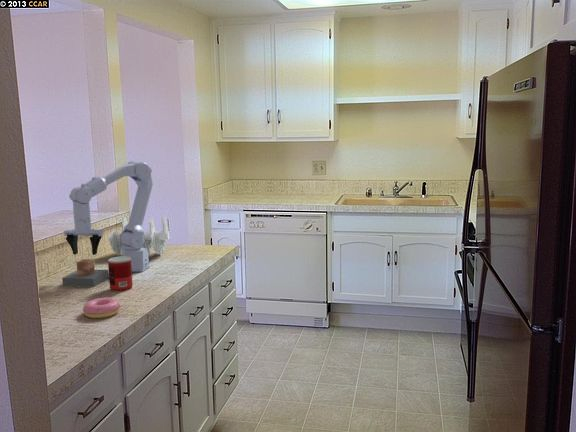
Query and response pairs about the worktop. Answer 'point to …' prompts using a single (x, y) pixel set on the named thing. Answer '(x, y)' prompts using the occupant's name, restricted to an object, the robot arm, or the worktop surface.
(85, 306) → the doughnut
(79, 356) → the worktop surface
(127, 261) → the canned food
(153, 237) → the white irregular piece
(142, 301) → the worktop surface
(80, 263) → the terracotta block
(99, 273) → the charcoal stand
